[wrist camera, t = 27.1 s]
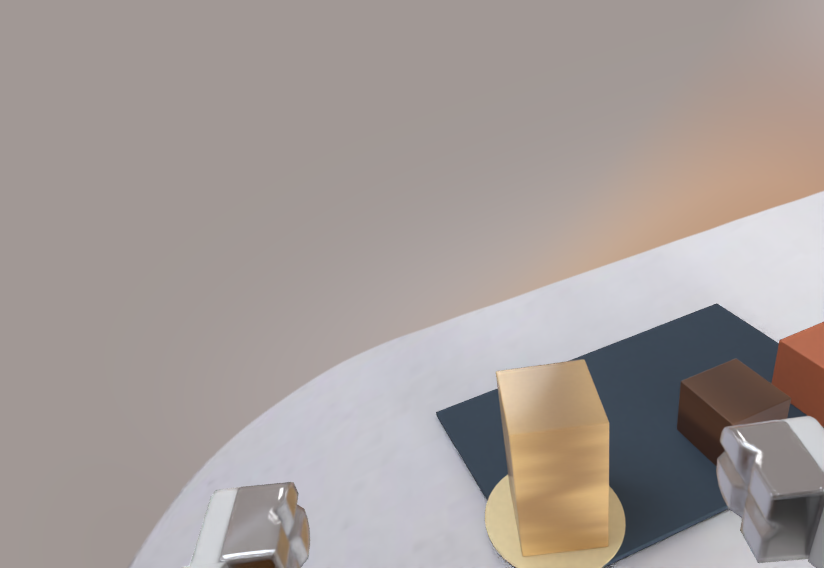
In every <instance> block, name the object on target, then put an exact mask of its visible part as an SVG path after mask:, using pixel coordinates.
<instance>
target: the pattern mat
mask: <svg viewBox="0 0 824 568" xmlns="http://www.w3.org/2000/svg"><path fill="white" fill-rule="evenodd" d="M778 346H779V343H777V342H776V341H774V340H773V339H771V338H769V337H768V336H766V335H765V334H763V333H762V332H760V331H759V330H757V329H756V328H754V327H752V326H751V325H749V324H748V323H746V322H745V321H743V320H742V319H740V318H739V317H737V316H735V315H734V314H732V313H731V312H729V311H728V310H726V309H725V308H723V307H722V306H720V305H718V304H714V305H712V306H709V307H706V308H704V309H701V310H699V311H696V312H694V313H691V314H688V315H686V316H683V317H681V318H678V319H676V320H673V321H670V322H668V323H665V324H663V325H660V326H657V327H655V328H652V329H650V330H647V331H645V332H642V333H639V334H637V335H634V336H632V337H629V338H627V339H624V340H621V341H619V342H616V343H614V344H611V345H608V346H606V347H603V348H601V349H598V350H596V351H593V352H590V353H588V354H585V355H583V356H580V357H578V358H575V359H572V360H570V361H575V360H585V362H586V365H587V367H588V370H589V372H590V375H591V377H592V380H593V382H594V385H595V388H596V390H597V393H598V395H599V398H600V400H601V403H602V405H603V408H604V410H605V413H606V416H607V418H608V421H609V546H608V547H602V548H594V549H585V550H576V551H567V552H558V553H550V554H541V555H532V556H522V552H521V547H520V542H519V536H518V531H517V525H516V520H515V514H514V509H513V503H512V498H511V492H510V486H509V478H508V469H507V461H506V453H505V444H504V436H503V428H502V419H501V411H500V402H499V394H498V389H495V390H492V391H490V392H487V393H485V394H482V395H480V396H477V397H474V398H472V399H469V400H467V401H464V402H462V403H459V404H456V405H454V406H451V407H449V408H446V409H443V410H441V411H438V412H436V414H437V417H438V419H439V420H440V422H441V424H442V425H443V427H444V429H445V430H446V432H447V434H448V435H449V437H450V439H451V440H452V442H453V444H454V446H455V447H456V449H457V451H458V452H459V454H460V456H461V457H462V459H463V461H464V462H465V464H466V466H467V467H468V469H469V471H470V472H471V474H472V476H473V477H474V479H475V481H476V482H477V484H478V486H479V487H480V489H481V491H482V492H483V494H484V496H485V497H486V499H487V504H486V510H485V523H486V529H487V532H488V536H489V538H490V540H491V542H492V544H493V545H494V547H495V548H496V550H497V551H498V552H499V553H500V555H501V556H502V557H503V558H504V559H505V560H507V561H508V562H509V563H510V564H512V565H513V566H515V567H516V568H604V567H606V566H608V565H610V564H612V563H614V562H616V561H618V560H621V559H623V558H625V557H627V556H629V555H631V554H633V553H635V552H637V551H640V550H642V549H644V548H646V547H648V546H650V545H652V544H654V543H656V542H659V541H661V540H663V539H665V538H667V537H669V536H671V535H673V534H675V533H678V532H680V531H682V530H684V529H686V528H688V527H690V526H692V525H694V524H697V523H699V522H701V521H703V520H705V519H707V518H709V517H711V516H713V515H716V514H718V513H720V512H722V511H724V510H726V509H728V506H727V504H726V502H725V500H724V499H723V496H722V494H721V491H720V488H719V485H718V479H717V473H716V468H717V466H716V465H714V464H713V463H712V462H711V461H710V460H709V459H708V458H707V457H706V456H705V455H704V454H703V453H702V452H701V451H699V450H698V449H697V448H696V447H695V446H694V445H693V444H692V443H691V442H690V441H689V440H688V439H687V438H686V437H685V436H683V435H682V434H681V433H680V432H679V431H678V430H677V420H678V408H679V397H680V385H681V381H682V380H685V379H687V378H689V377H692V376H694V375H697V374H699V373H701V372H704V371H706V370H709V369H711V368H714V367H716V366H718V365H721V364H723V363H726V362H728V361H730V360H733V359H738V360H739V361H741V362H742V363H743V364H745V365H746V366H748V367H749V368H750V369H752V370H753V371H754V372H756V373H757V374H759V375H760V376H761V377H763V378H764V379H766V380H767V381H768V382H770V383H771V384H772V378H773V373H774V368H775V362H776V357H777V351H778ZM567 362H568V361H567ZM804 416H807V415H806V414H805V413H803V412H802V411H800V410H799V409H798V408H796V407H795V406H794V405H792V404H791V403H790V407H789V412H788V416H787V419H789V418H796V417H804ZM823 428H824V427H823Z"/></svg>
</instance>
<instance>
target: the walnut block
mask: <svg viewBox="0 0 824 568" xmlns="http://www.w3.org/2000/svg"><path fill="white" fill-rule="evenodd" d="M790 402H791V397H789V396H788V395H786V394H785V393H784V392H782V391H781V390H780V389H778V388H777V387H775V386H774V385H773V384H771V383H770V382H768V381H767V380H766V379H764V378H763V377H761V376H760V375H759V374H757V373H756V372H754V371H753V370H752V369H750V368H749V367H748V366H746V365H745V364H743V363H742V362H741V361H739V360H738V359H733V360H730V361H728V362H726V363H723V364H721V365H718V366H716V367H714V368H711V369H709V370H706V371H704V372H701V373H699V374H697V375H694V376H692V377H689V378H687V379H685V380H682V381H681V385H680V397H679V408H678V420H677V430H678V431H679V432H680V433H681V434H682V435H683V436H685V437H686V438H687V439H688V440H689V441H690V442H691V443H692V444H693V445H694V446H695V447H696V448H697V449H698V450H699V451H701V452H702V453H703V454H704V455H705V456H706V457H707V458H708V459H709V460H710V461H711V462H712V463H713V464H714V465H716V466H717V458H718V457H719V456H720V455H721V454H722V453H723V452H724V451H725V449H724V448H723V446H722V444H721V442H720V438H721V432H722V430H723V429H724V428H725V427H727V426H735V425H742V424H749V423H756V422H764V421H771V420H781V419H787V416H788V412H789V407H790Z"/></svg>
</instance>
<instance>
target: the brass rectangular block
mask: <svg viewBox="0 0 824 568" xmlns="http://www.w3.org/2000/svg"><path fill="white" fill-rule="evenodd" d="M496 377H497V386H498V394H499V402H500V411H501V419H502V428H503V436H504V444H505V453H506V461H507V469H508V478H509V486H510V492H511V498H512V503H513V509H514V514H515V520H516V525H517V531H518V536H519V542H520V547H521V552H522V556H532V555H541V554H550V553H558V552H567V551H576V550H585V549H594V548H602V547H608V546H609V421H608V418H607V416H606V413H605V410H604V408H603V405H602V403H601V400H600V398H599V395H598V393H597V390H596V388H595V385H594V382H593V380H592V377H591V375H590V372H589V370H588V367H587V365H586V362H585V360H575V361H568V362H561V363H553V364H546V365H538V366H531V367H524V368H516V369H509V370H502V371H496Z"/></svg>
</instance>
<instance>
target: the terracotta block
mask: <svg viewBox="0 0 824 568" xmlns="http://www.w3.org/2000/svg"><path fill="white" fill-rule="evenodd" d="M772 384H773V385H774V386H775V387H777V388H778V389H780V390H781V391H782V392H784V393H785V394H786V395H788V396H789V397H791V402H790V403H791V404H792V405H794V406H795V407H796V408H798V409H799V410H800V411H802V412H803V413H805V414H806V415H807V416H811V417H813V418H815V419H816V420H817V421H818V422H819V423H820V425H821V426H822V427H824V322H822V323H820V324H817V325H815V326H813V327H810V328H808V329H805V330H803V331H800V332H798V333H796V334H793V335H791V336H788V337H786V338H784V339H781V340H780V341H779V346H778V351H777V357H776V362H775V368H774V373H773V378H772Z"/></svg>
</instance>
